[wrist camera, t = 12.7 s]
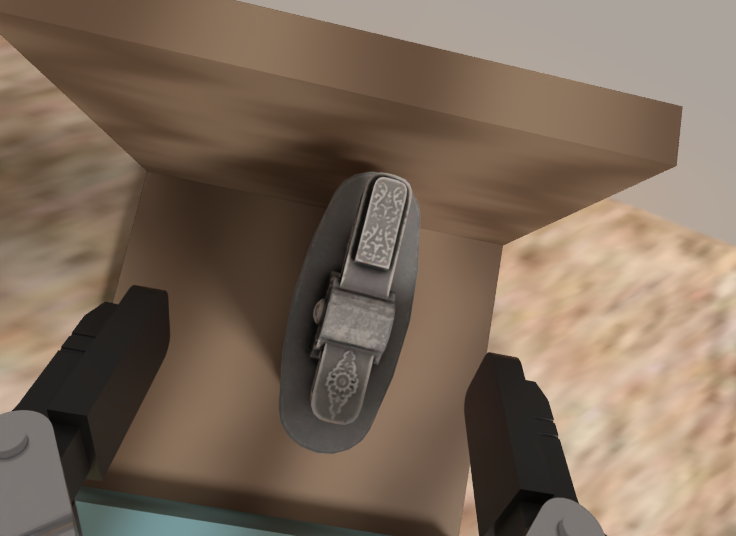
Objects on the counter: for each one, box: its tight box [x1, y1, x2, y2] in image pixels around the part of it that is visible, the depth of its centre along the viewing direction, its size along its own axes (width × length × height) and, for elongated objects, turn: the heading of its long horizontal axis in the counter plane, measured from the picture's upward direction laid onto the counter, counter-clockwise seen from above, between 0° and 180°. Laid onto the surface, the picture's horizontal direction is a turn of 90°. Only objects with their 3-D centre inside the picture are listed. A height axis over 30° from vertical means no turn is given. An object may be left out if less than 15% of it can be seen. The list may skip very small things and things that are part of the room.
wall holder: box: [0, 0, 682, 536], centre depth 16 cm, size 16×16×12 cm
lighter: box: [278, 172, 421, 454], centre depth 16 cm, size 8×3×10 cm, turn 166°
